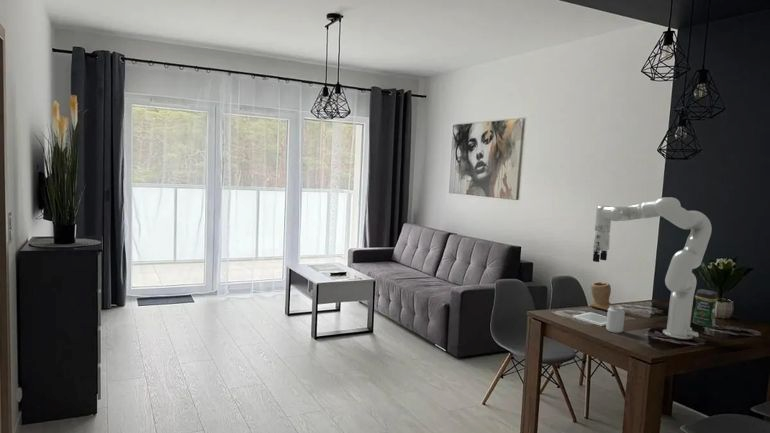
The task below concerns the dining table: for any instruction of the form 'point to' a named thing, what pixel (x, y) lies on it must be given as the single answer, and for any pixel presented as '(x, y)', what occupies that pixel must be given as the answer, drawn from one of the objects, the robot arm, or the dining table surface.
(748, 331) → the dining table surface
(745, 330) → the dining table surface
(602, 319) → the trivet
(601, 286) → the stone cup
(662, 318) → the dining table surface
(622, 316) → the can
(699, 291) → the coffee jar
